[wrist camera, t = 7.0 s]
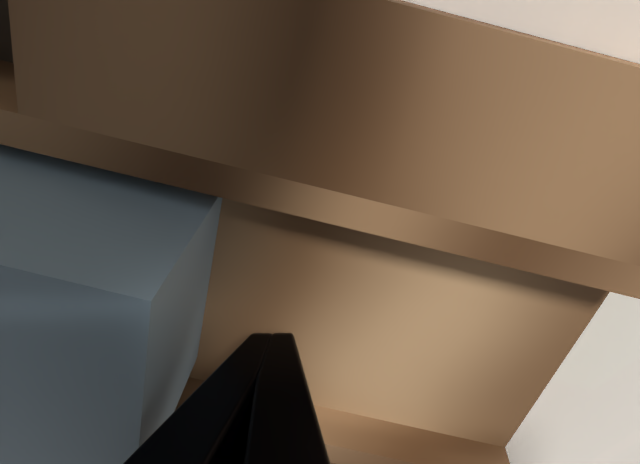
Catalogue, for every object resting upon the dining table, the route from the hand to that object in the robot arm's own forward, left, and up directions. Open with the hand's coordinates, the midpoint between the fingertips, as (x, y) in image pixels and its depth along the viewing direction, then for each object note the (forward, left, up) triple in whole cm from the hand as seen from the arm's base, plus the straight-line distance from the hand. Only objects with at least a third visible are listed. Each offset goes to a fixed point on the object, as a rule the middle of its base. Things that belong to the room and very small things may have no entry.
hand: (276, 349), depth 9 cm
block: (+4, -2, -1) cm, 5 cm away
